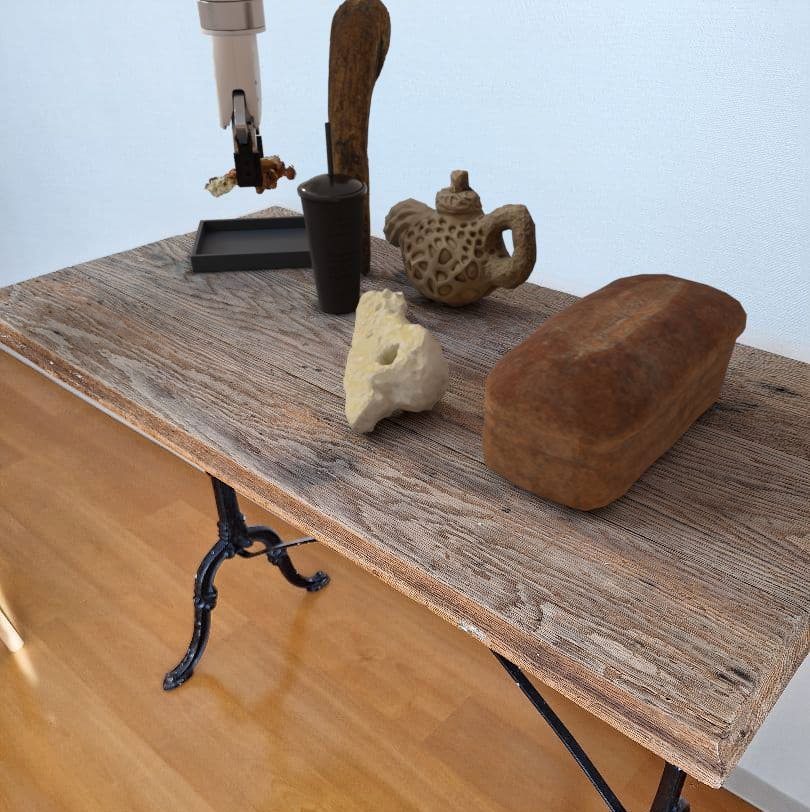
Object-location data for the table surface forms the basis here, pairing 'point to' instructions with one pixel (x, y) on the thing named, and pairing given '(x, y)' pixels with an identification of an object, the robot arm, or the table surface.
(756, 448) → the table surface
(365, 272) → the sculpture
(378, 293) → the cheese
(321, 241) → the drinking cup
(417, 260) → the teapot
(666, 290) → the bread
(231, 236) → the serving tray
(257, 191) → the taco
